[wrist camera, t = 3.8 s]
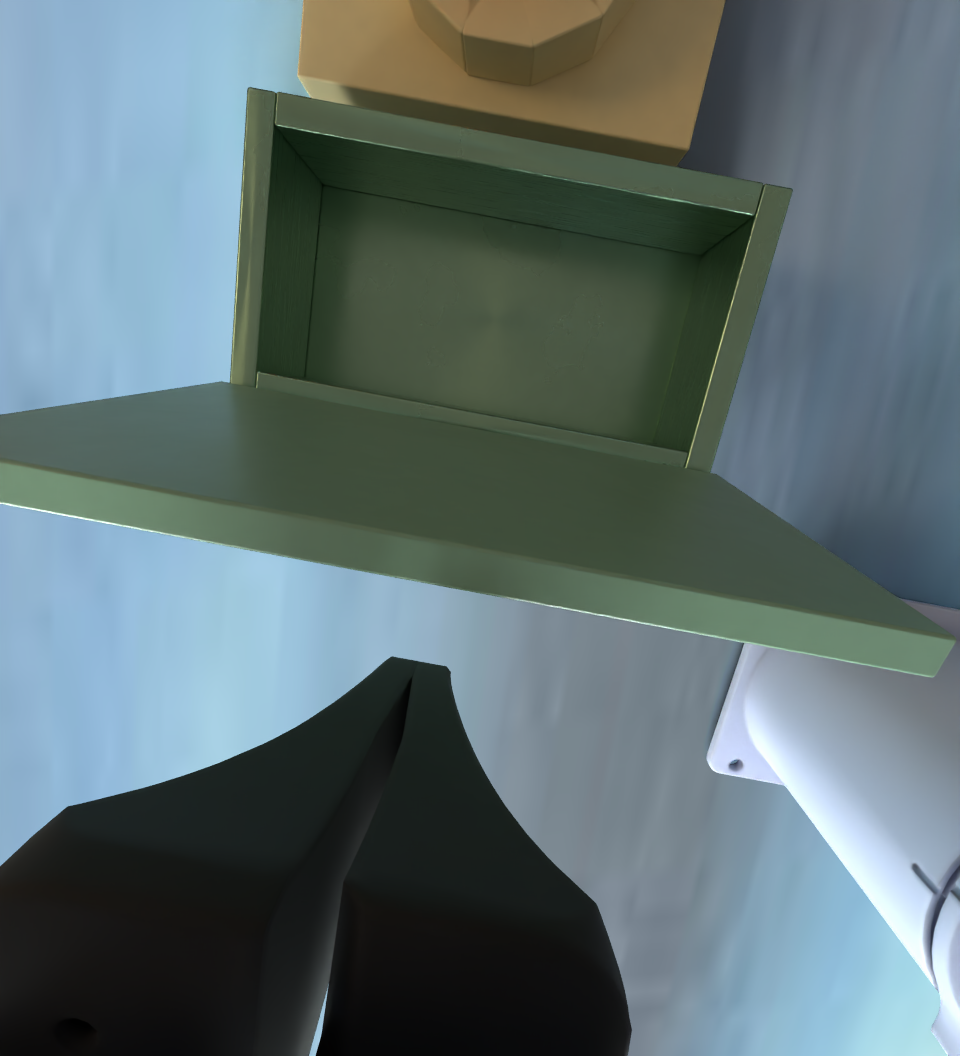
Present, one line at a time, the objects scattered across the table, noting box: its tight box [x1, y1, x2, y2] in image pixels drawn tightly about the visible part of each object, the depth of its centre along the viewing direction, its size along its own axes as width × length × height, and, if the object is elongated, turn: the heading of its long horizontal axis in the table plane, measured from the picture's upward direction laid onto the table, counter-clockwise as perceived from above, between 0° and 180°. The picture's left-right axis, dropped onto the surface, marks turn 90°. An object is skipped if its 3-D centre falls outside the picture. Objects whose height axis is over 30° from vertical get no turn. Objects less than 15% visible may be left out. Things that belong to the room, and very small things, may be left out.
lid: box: [0, 382, 956, 677], centre depth 10 cm, size 8×13×1 cm
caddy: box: [230, 87, 793, 473], centre depth 15 cm, size 7×13×4 cm, turn 80°
